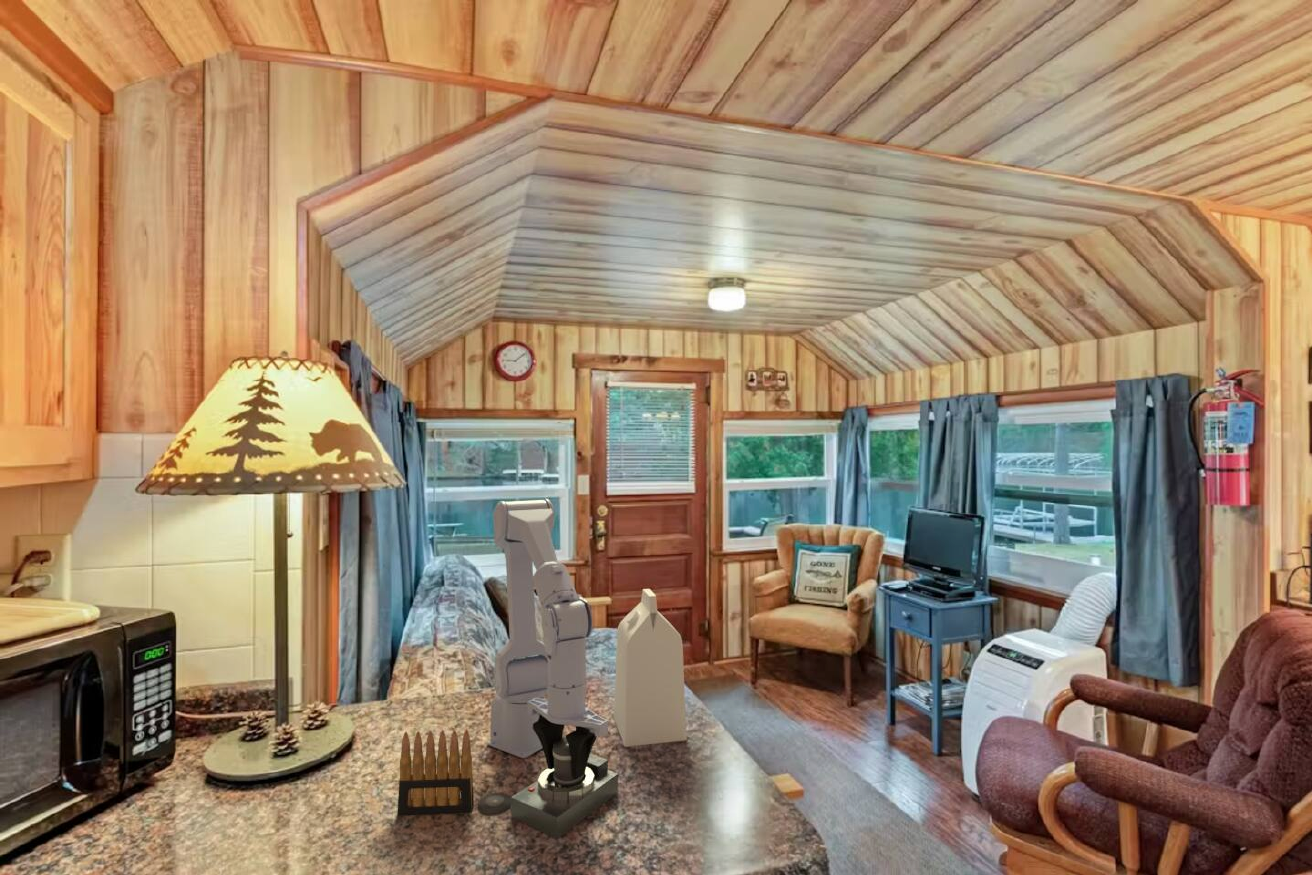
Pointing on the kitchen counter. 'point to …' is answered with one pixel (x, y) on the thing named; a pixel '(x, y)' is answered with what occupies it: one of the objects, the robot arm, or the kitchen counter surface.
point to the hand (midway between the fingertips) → (566, 771)
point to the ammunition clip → (435, 777)
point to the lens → (563, 765)
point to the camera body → (564, 799)
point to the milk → (649, 677)
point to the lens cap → (494, 803)
